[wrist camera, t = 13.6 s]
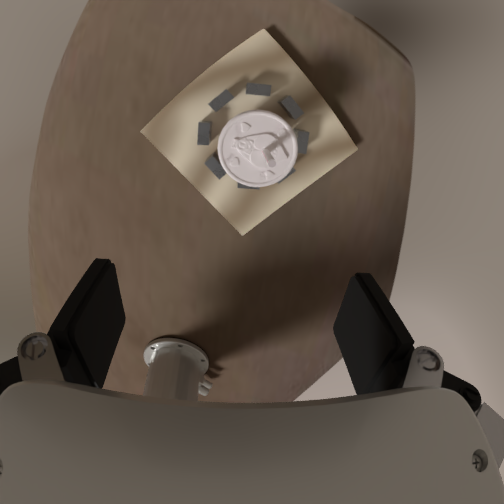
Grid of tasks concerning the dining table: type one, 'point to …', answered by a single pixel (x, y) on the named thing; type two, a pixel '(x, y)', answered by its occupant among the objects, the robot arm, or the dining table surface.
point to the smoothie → (257, 148)
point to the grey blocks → (258, 90)
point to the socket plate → (234, 80)
